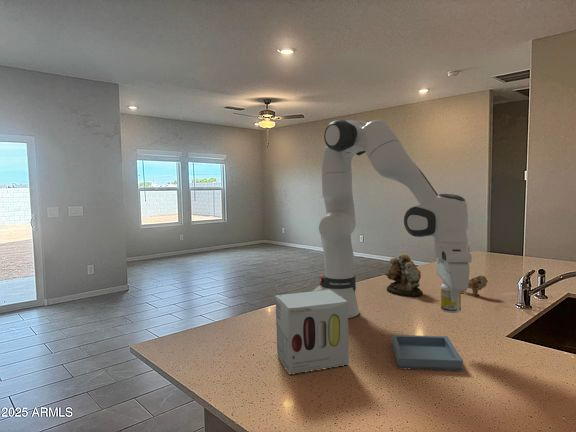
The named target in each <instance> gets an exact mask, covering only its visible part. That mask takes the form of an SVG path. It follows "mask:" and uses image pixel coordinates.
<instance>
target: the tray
mask: <svg viewBox="0 0 576 432" xmlns="http://www.w3.org/2000/svg"><path fill="white" fill-rule="evenodd" d="M391 345H392V350H393V352H394V353H395V354H394V353H393V354H394V356H395V361H396V365H397V364H398V365H397V368H398V369H399V368H407V369H406V370H417V369H428V370H427V371H444V370H452V371H451V372H453V370H454V372H463V371H464V361H463V359H462V356H461V355H460V353H459V352H458V351H457V348H456V347H455V346H454V344H453V343H452V342H451V339H450V338H449V337H448V336H447V335H414V334H413V335H408V334H391ZM408 368H410V369H408ZM430 369H432V370H430Z"/></svg>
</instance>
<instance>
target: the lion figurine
mask: <svg viewBox="0 0 576 432" xmlns="http://www.w3.org/2000/svg"><path fill="white" fill-rule="evenodd" d="M471 278H472V277H471ZM488 283H489V281H488V279H487V277H486V276H485V275H478V276H476V277H473V278H472V279H469V284H468V288H467V289H470V290H471V291H472V297H473V298H477V297H478V296H480V294H479V293H478V292H479V291H481V290H482V289H484V288H486V287H487V285H488ZM462 294H464V291H461V295H462Z"/></svg>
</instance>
